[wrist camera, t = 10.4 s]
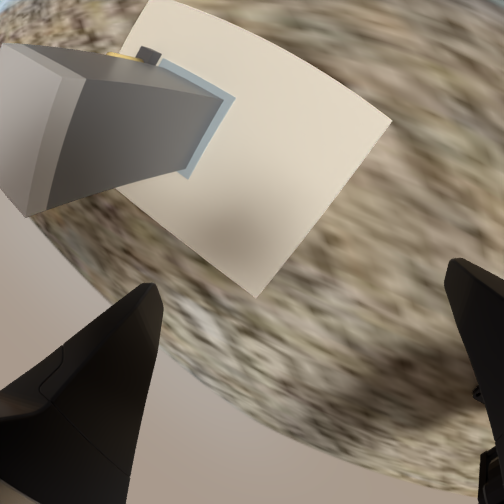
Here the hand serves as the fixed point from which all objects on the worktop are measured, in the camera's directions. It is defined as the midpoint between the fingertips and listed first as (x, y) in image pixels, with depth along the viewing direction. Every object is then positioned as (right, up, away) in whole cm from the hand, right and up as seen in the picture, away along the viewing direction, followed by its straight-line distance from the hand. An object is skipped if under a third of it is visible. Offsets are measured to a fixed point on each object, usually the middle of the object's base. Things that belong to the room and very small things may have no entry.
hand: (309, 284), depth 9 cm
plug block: (-7, +9, +10) cm, 15 cm away
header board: (-4, +9, +11) cm, 15 cm away
